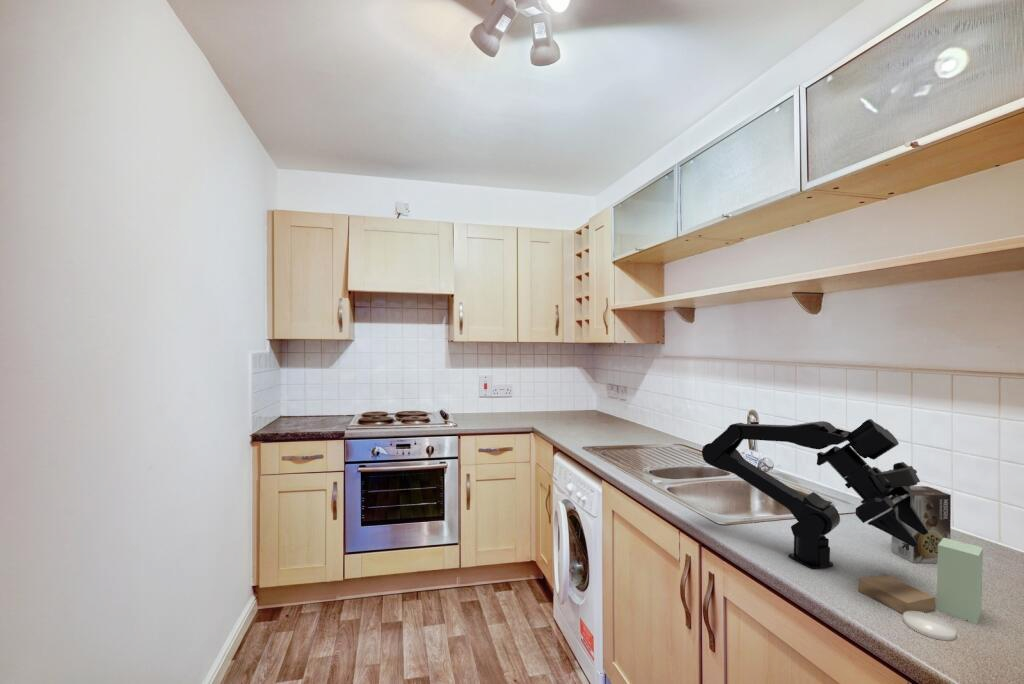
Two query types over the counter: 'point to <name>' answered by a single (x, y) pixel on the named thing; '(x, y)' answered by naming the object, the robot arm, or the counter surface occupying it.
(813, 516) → the robot arm
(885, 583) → the podium
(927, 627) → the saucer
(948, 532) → the coffee box
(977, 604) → the carton
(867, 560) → the counter surface
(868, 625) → the counter surface
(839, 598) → the counter surface
